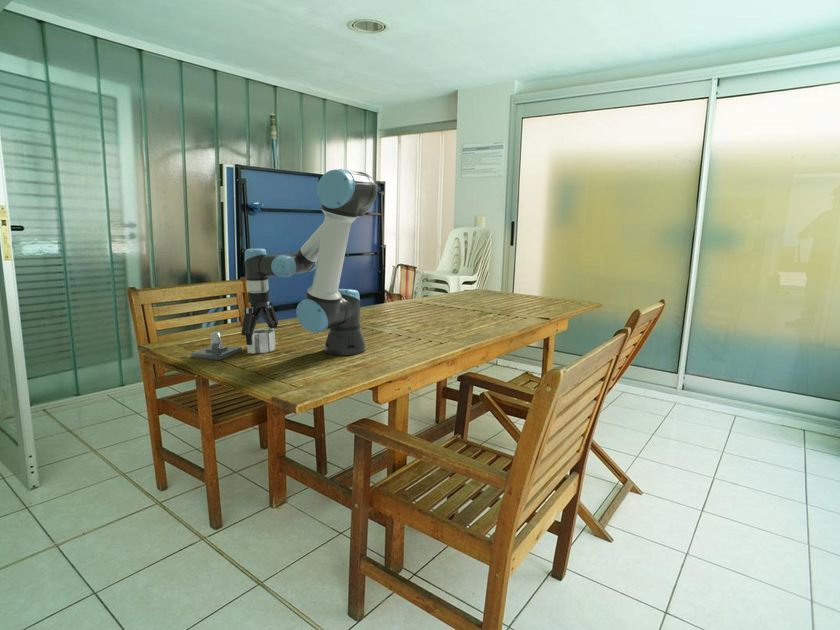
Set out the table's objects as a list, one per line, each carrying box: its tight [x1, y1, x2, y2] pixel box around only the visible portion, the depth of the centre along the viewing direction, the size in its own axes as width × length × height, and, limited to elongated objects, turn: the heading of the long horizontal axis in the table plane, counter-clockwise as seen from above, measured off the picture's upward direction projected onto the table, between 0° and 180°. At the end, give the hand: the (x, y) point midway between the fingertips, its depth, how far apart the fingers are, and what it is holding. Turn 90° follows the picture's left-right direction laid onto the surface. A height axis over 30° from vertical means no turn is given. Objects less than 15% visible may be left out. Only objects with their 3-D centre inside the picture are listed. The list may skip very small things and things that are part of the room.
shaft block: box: [190, 331, 243, 361], centre depth 178 cm, size 12×12×8 cm
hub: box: [249, 328, 276, 354], centre depth 184 cm, size 9×9×7 cm
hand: (262, 348), depth 185 cm, fingers open, 12 cm apart
